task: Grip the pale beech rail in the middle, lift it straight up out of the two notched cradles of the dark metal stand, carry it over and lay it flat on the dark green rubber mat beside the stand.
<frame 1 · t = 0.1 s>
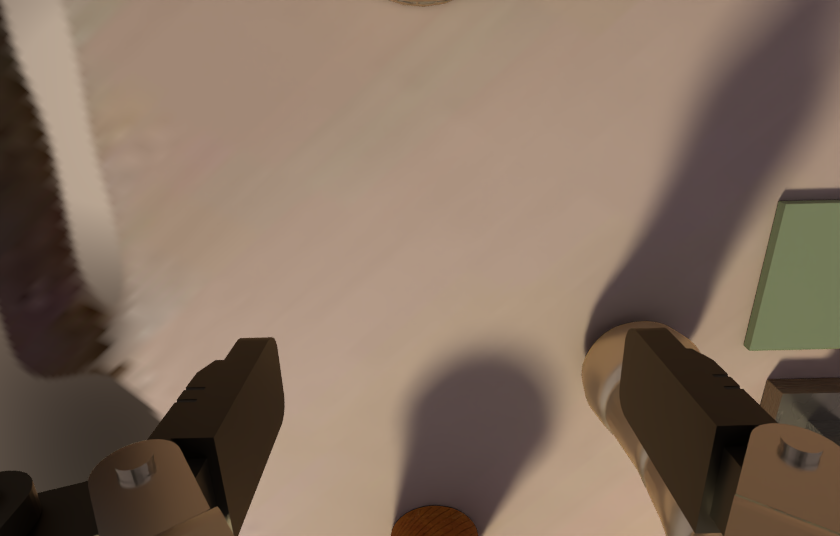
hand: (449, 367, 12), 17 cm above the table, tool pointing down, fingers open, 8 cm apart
plastic bottle: (625, 353, 32), on the table
disposable coffee cup: (434, 535, 38), on the table
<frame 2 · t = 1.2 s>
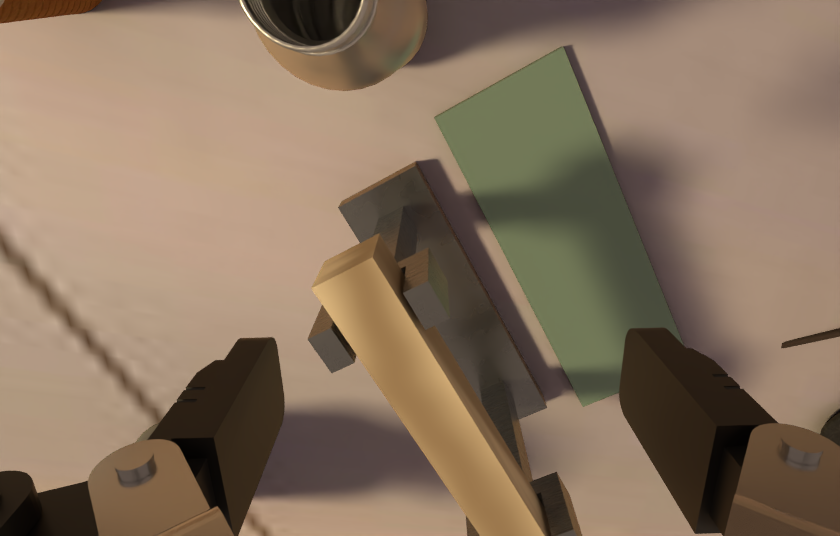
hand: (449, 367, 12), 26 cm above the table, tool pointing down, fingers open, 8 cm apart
beech rail: (458, 416, 28), point 13 cm above the table, touching rail stand
plastic bottle: (374, 18, 33), on the table
rail stand: (450, 306, 40), on the table
rubber mat: (572, 249, 38), on the table
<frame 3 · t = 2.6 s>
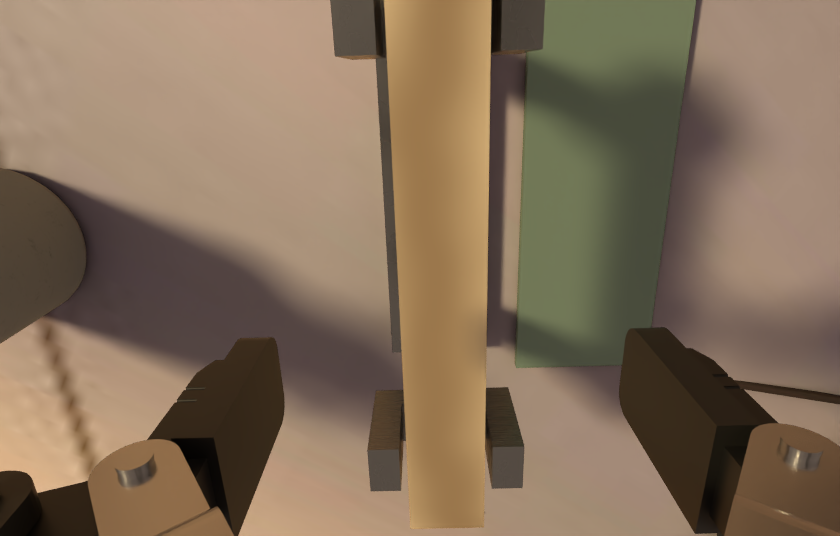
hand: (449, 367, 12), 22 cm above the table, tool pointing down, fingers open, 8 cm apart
water bottle: (21, 241, 34), on the table
beech rail: (439, 249, 20), point 13 cm above the table, touching rail stand
rail stand: (433, 183, 33), on the table
rubber mat: (594, 178, 32), on the table
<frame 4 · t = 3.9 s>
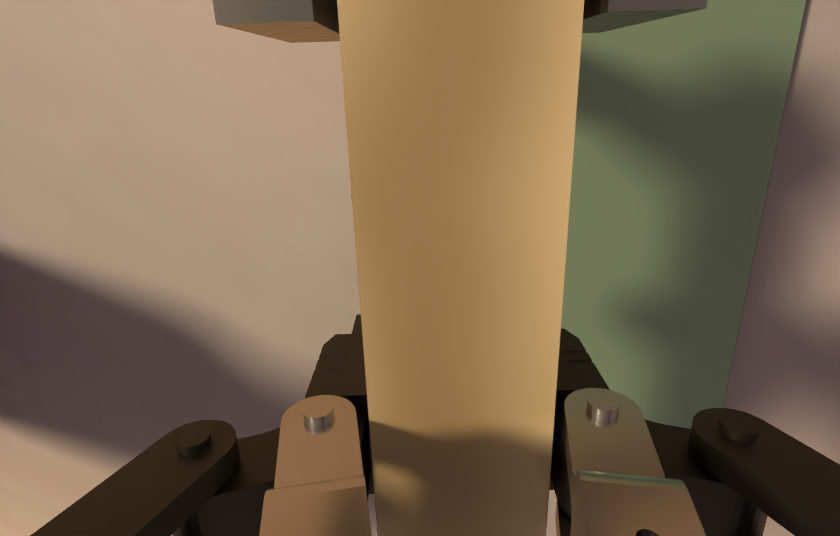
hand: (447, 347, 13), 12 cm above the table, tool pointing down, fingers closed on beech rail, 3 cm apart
beech rail: (451, 377, 12), point 13 cm above the table, touching gripper, rail stand
rail stand: (434, 222, 24), on the table
rubber mat: (654, 215, 24), on the table
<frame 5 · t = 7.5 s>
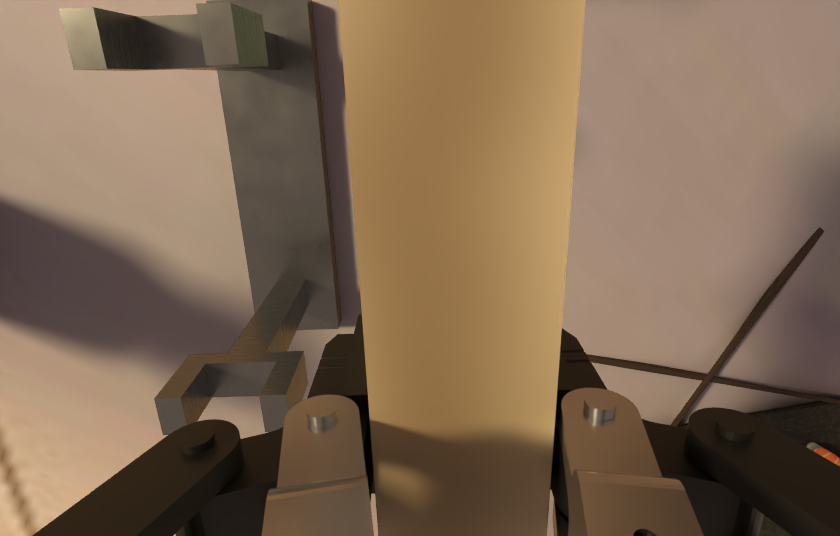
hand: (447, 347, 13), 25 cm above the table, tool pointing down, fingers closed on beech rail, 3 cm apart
beech rail: (451, 378, 12), point 26 cm above the table, touching gripper
rail stand: (284, 178, 36), on the table
sushi plate: (728, 398, 44), on the table
when the fingers open (2 cm above the table, at t = 10.9 s): beech rail drops 2 cm, resting on rubber mat.
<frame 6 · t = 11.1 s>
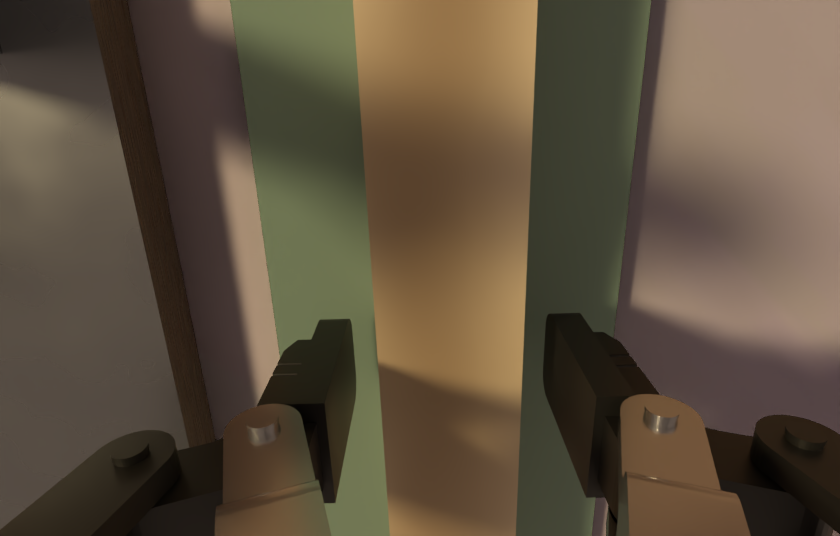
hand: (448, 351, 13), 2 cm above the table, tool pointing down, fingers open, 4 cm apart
beech rail: (444, 328, 14), point 1 cm above the table, touching rubber mat
rail stand: (84, 328, 15), on the table
rubber mat: (444, 318, 14), on the table
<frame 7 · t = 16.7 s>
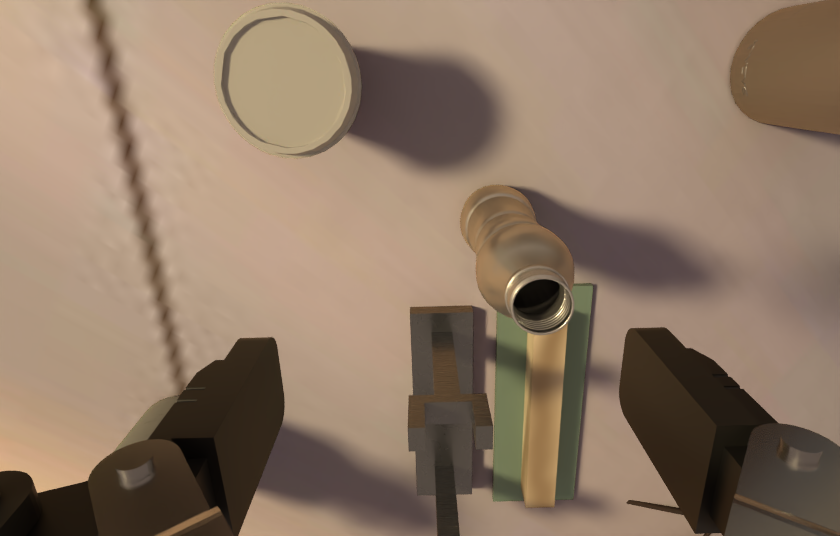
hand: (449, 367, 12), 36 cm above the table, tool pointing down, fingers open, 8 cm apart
water bottle: (192, 430, 56), on the table
beech rail: (538, 402, 54), point 1 cm above the table, touching rubber mat
plastic bottle: (493, 214, 48), on the table
rail stand: (442, 401, 55), on the table
disposable coffee cup: (318, 81, 44), on the table
sushi plate: (732, 529, 62), on the table
rubber mat: (537, 399, 55), on the table
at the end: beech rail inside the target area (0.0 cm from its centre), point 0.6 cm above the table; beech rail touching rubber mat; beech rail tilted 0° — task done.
